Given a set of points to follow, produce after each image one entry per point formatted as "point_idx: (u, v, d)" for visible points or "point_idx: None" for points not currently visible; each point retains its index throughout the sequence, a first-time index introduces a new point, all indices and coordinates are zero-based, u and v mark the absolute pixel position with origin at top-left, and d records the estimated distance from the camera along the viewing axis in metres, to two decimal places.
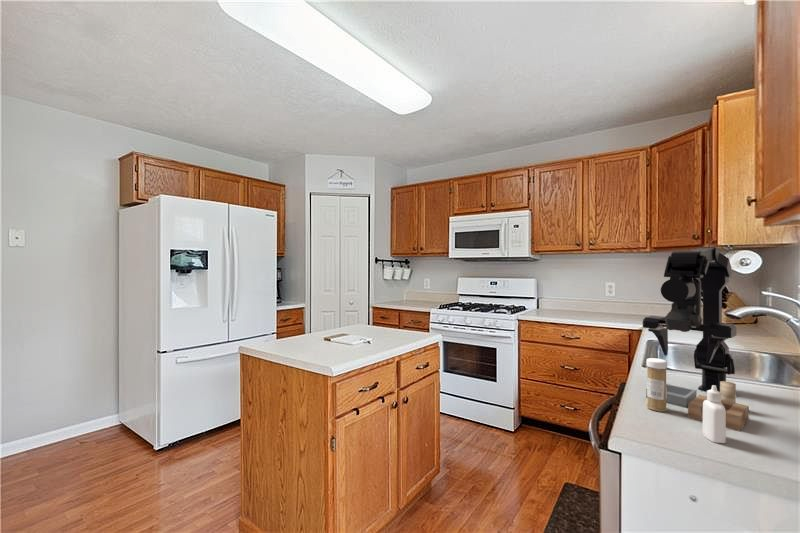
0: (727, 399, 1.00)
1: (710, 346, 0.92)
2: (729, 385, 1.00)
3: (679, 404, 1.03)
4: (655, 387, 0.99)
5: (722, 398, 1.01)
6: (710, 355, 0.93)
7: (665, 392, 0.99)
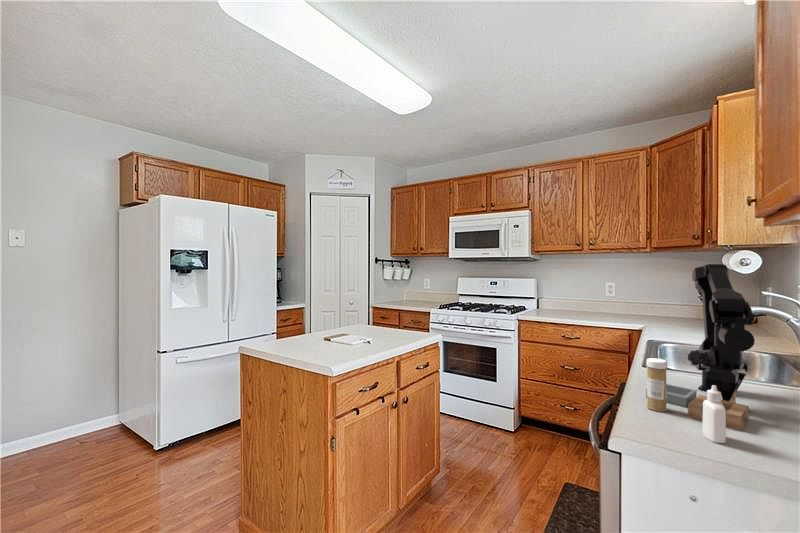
0: None
1: None
2: None
3: (679, 404, 1.03)
4: (655, 387, 0.99)
5: None
6: (721, 393, 1.00)
7: (665, 392, 0.99)
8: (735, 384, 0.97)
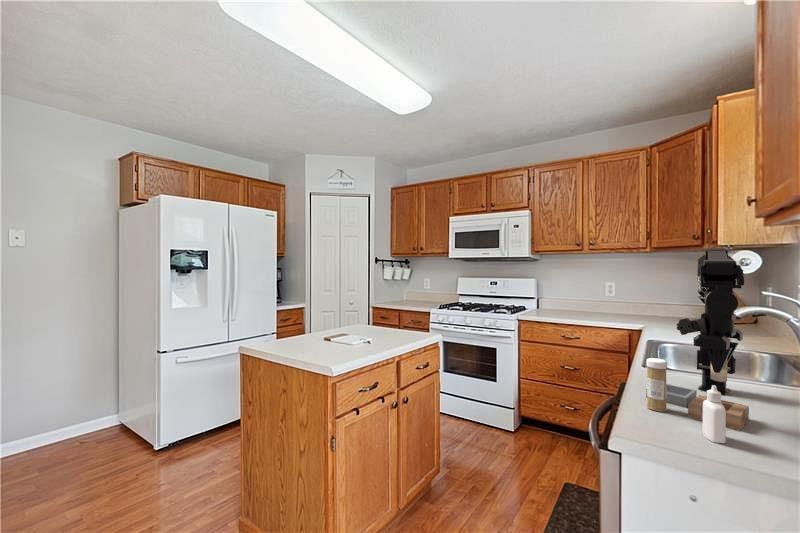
0: None
1: None
2: None
3: (679, 404, 1.03)
4: (655, 387, 0.99)
5: None
6: (711, 363, 0.94)
7: (665, 392, 0.99)
8: (726, 352, 0.91)
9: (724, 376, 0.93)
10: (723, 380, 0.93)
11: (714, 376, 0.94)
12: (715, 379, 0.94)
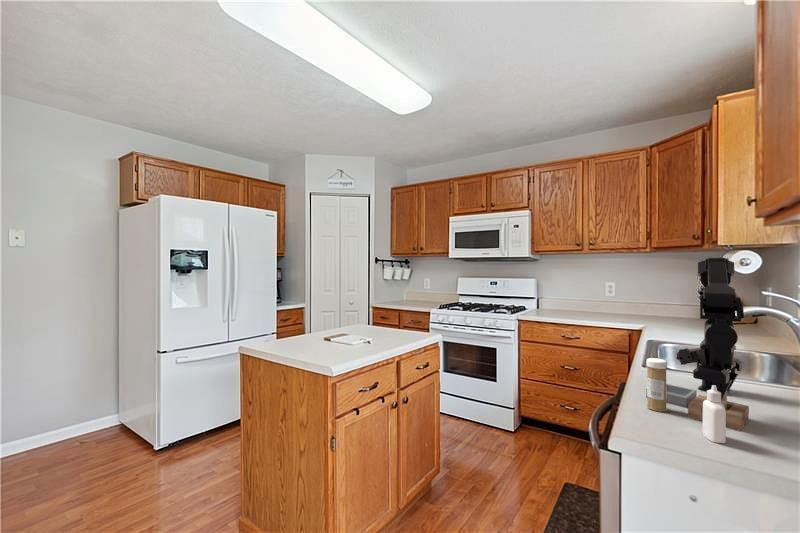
0: None
1: None
2: None
3: (679, 404, 1.03)
4: (655, 387, 0.99)
5: None
6: None
7: (665, 392, 0.99)
8: (726, 385, 0.91)
9: None
10: None
11: None
12: None
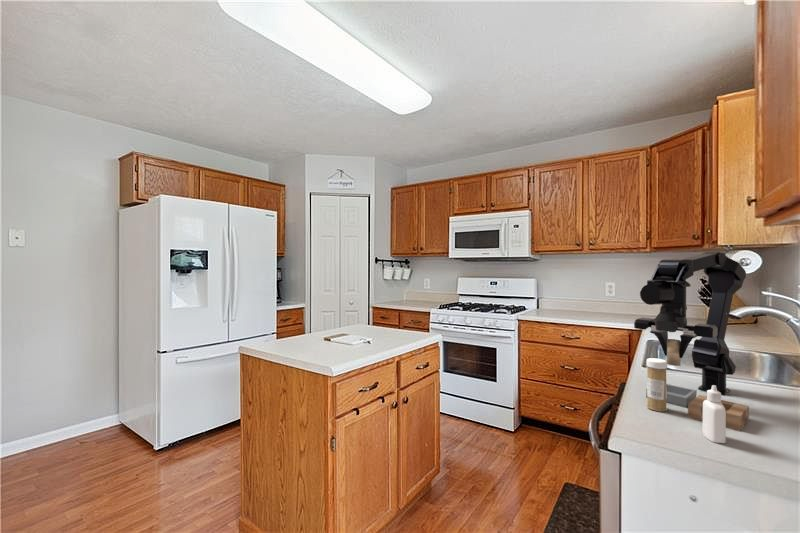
0: None
1: (681, 343, 1.05)
2: (680, 341, 1.07)
3: (679, 404, 1.03)
4: (655, 387, 0.99)
5: (678, 355, 1.06)
6: (682, 351, 1.05)
7: (665, 392, 0.99)
8: (692, 337, 1.06)
9: None
10: None
11: (679, 361, 1.06)
12: (679, 364, 1.06)
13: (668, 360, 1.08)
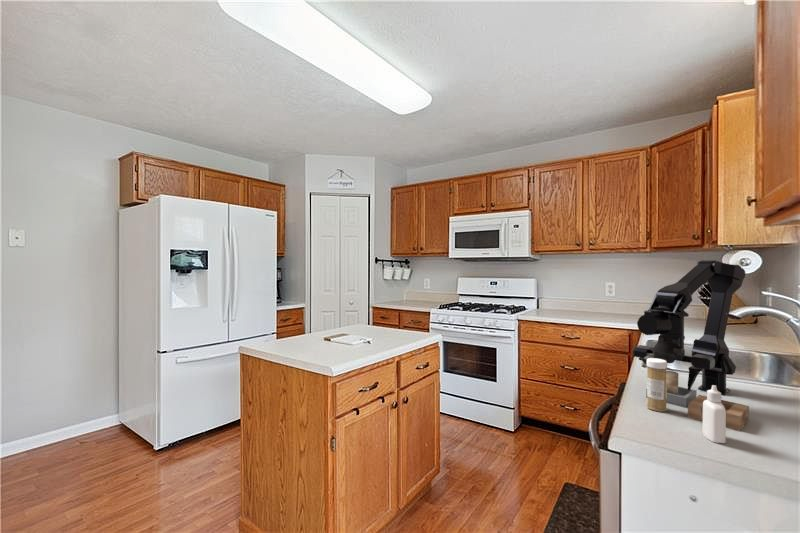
0: None
1: (690, 375, 1.04)
2: (677, 374, 1.08)
3: (679, 404, 1.03)
4: (655, 387, 0.99)
5: (676, 388, 1.07)
6: (690, 383, 1.04)
7: (665, 392, 0.99)
8: None
9: None
10: None
11: (676, 394, 1.07)
12: None
13: None
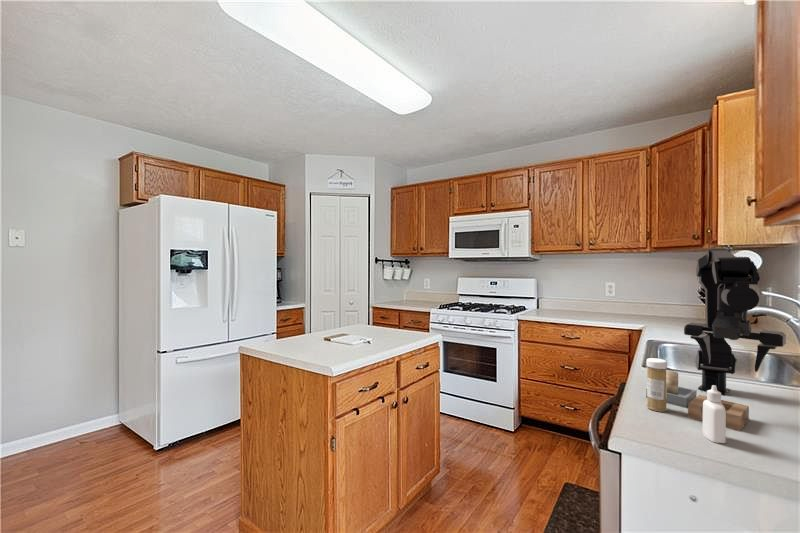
0: None
1: (758, 355, 0.90)
2: (677, 373, 1.08)
3: (679, 404, 1.03)
4: (655, 387, 0.99)
5: (676, 388, 1.07)
6: (758, 364, 0.90)
7: (665, 392, 0.99)
8: None
9: None
10: None
11: (676, 394, 1.07)
12: None
13: None
